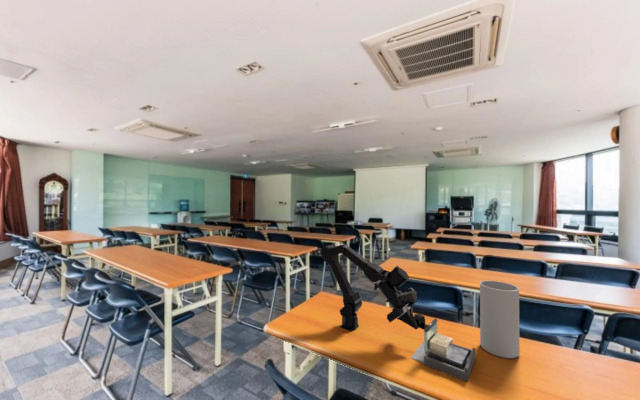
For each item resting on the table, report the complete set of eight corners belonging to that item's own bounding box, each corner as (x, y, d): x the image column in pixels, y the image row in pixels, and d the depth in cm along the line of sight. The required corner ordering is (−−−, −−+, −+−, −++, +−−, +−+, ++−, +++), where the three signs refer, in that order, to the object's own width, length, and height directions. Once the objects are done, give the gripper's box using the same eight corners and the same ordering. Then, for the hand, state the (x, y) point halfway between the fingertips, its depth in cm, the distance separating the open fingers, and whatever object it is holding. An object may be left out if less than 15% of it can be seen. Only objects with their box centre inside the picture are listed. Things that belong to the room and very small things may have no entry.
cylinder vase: (519, 348, 100) (519, 284, 101) (519, 364, 90) (519, 293, 91) (482, 337, 108) (481, 278, 108) (478, 351, 98) (478, 286, 98)
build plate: (435, 329, 116) (435, 319, 116) (423, 333, 113) (423, 322, 113) (415, 318, 127) (415, 309, 128) (404, 321, 124) (404, 311, 125)
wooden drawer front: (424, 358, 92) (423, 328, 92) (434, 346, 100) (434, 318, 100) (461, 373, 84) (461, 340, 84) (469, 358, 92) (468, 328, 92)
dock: (409, 361, 93) (409, 348, 93) (423, 343, 105) (423, 331, 105) (467, 385, 81) (467, 369, 81) (475, 361, 93) (475, 347, 93)
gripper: (394, 288, 95) (424, 327, 88) (412, 277, 110) (439, 310, 103) (375, 303, 100) (402, 342, 93) (395, 291, 115) (419, 323, 108)
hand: (417, 328), depth 99 cm, fingers closed
